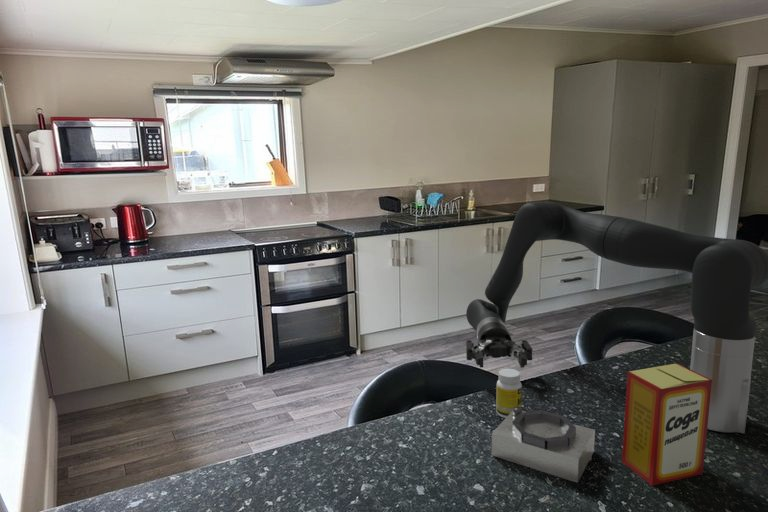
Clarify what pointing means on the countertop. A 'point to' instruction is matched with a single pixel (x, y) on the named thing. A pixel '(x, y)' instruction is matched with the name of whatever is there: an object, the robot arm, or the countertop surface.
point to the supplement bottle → (508, 392)
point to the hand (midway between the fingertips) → (502, 363)
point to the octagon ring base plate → (544, 443)
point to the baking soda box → (666, 423)
